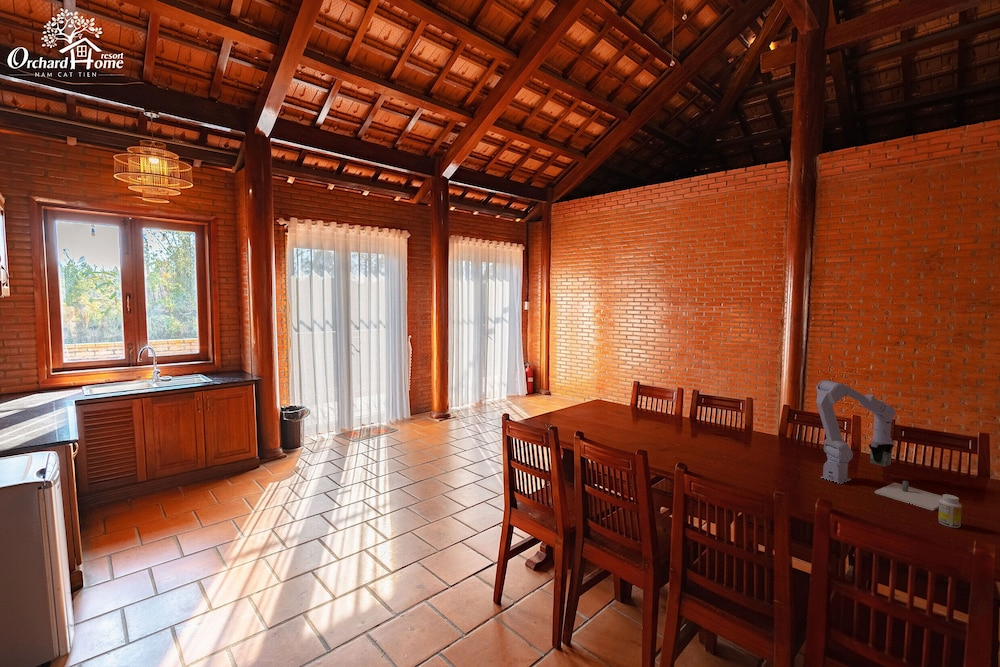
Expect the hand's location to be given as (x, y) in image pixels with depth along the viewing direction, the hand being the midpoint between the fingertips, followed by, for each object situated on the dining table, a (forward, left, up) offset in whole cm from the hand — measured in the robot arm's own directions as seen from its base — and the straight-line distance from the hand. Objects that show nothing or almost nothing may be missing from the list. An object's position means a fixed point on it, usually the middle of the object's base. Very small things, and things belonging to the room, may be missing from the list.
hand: (880, 460), depth 196 cm
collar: (0, 0, -1) cm, 1 cm away
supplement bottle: (-29, -31, -9) cm, 43 cm away
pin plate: (-11, -15, -8) cm, 20 cm away
